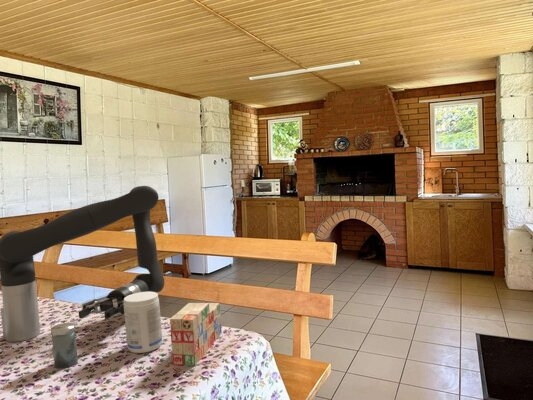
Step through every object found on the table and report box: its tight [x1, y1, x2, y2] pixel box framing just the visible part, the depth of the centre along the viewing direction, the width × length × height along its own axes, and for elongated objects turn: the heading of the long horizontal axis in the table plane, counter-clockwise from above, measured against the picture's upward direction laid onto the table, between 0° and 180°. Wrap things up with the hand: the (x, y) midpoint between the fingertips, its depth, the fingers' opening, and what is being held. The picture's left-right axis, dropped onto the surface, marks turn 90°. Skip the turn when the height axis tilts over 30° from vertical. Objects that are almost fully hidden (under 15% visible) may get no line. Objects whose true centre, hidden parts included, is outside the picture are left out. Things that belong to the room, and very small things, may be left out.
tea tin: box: [50, 322, 79, 370], centre depth 103 cm, size 6×6×10 cm
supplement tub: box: [123, 292, 163, 354], centre depth 111 cm, size 10×10×15 cm
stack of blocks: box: [169, 302, 223, 367], centre depth 109 cm, size 21×6×12 cm, turn 168°
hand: (92, 315), depth 114 cm, fingers open, 8 cm apart
